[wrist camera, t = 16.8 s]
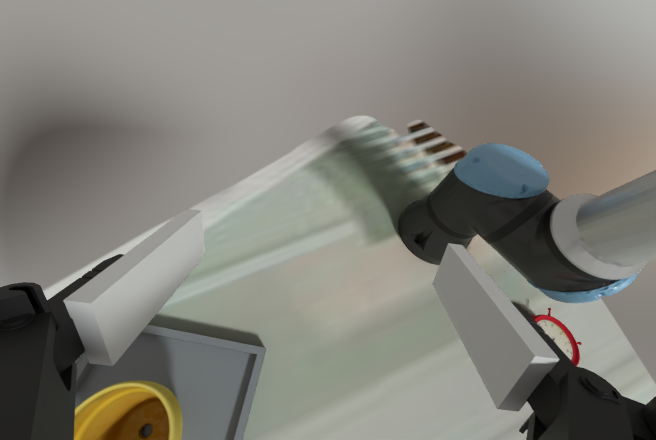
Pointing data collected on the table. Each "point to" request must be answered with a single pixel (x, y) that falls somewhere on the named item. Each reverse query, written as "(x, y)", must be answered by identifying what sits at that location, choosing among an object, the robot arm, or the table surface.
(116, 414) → the plant pot
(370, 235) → the table surface
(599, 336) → the table surface
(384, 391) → the table surface
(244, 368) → the tray
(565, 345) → the alarm clock
